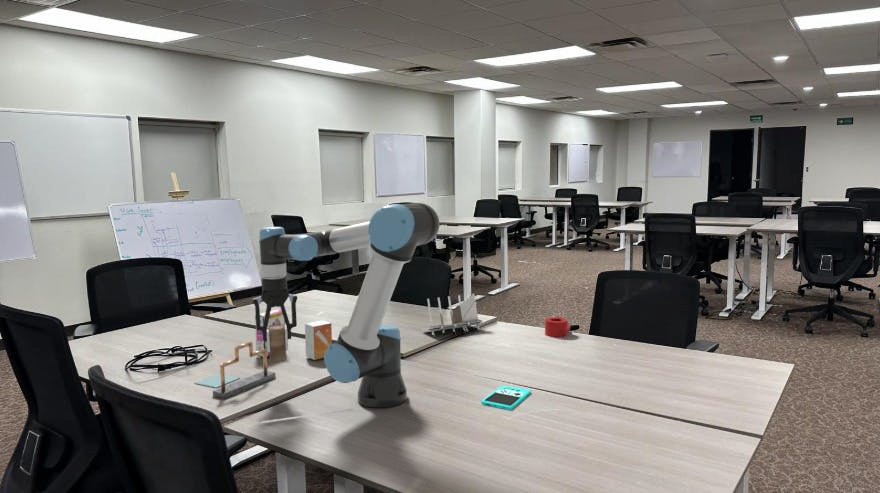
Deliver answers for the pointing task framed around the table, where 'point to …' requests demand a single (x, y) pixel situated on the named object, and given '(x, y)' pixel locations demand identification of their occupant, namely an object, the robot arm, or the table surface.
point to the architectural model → (457, 315)
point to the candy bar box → (274, 320)
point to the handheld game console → (506, 397)
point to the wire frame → (247, 382)
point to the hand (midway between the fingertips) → (277, 350)
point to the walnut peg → (277, 343)
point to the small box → (317, 339)
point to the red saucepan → (556, 327)
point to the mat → (216, 381)
